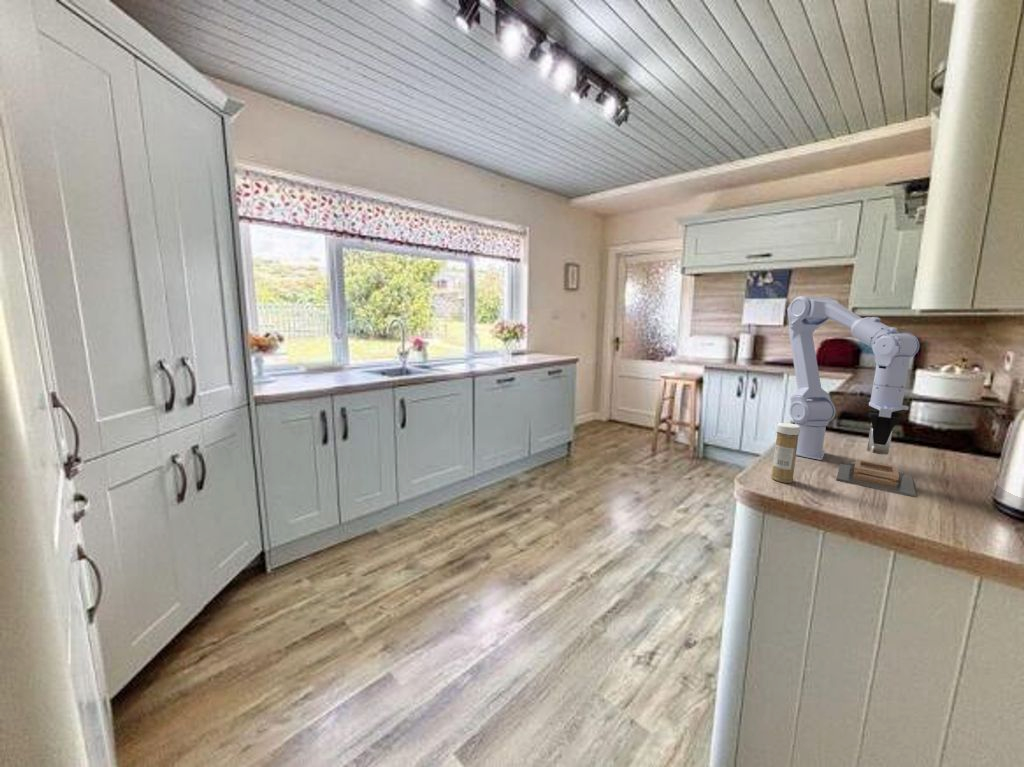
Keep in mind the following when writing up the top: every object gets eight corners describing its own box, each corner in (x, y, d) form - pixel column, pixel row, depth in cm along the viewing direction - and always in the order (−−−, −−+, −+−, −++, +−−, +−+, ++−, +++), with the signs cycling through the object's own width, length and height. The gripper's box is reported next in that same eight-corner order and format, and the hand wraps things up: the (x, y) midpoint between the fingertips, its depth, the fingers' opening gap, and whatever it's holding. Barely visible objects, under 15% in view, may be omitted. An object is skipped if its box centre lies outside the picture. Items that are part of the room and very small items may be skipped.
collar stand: (839, 465, 116) (841, 453, 115) (911, 479, 107) (913, 466, 107) (836, 480, 105) (838, 467, 104) (915, 497, 96) (917, 483, 96)
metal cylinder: (866, 448, 108) (871, 420, 107) (888, 451, 105) (893, 423, 104) (866, 452, 105) (871, 423, 103) (889, 455, 102) (894, 426, 101)
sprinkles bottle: (796, 481, 104) (804, 425, 101) (787, 485, 101) (794, 428, 99) (776, 475, 107) (783, 421, 105) (766, 478, 105) (773, 423, 103)
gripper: (914, 391, 94) (903, 452, 96) (910, 384, 105) (900, 439, 108) (871, 387, 99) (862, 445, 101) (872, 380, 110) (863, 433, 112)
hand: (879, 442), depth 105 cm, fingers closed on metal cylinder, 4 cm apart
